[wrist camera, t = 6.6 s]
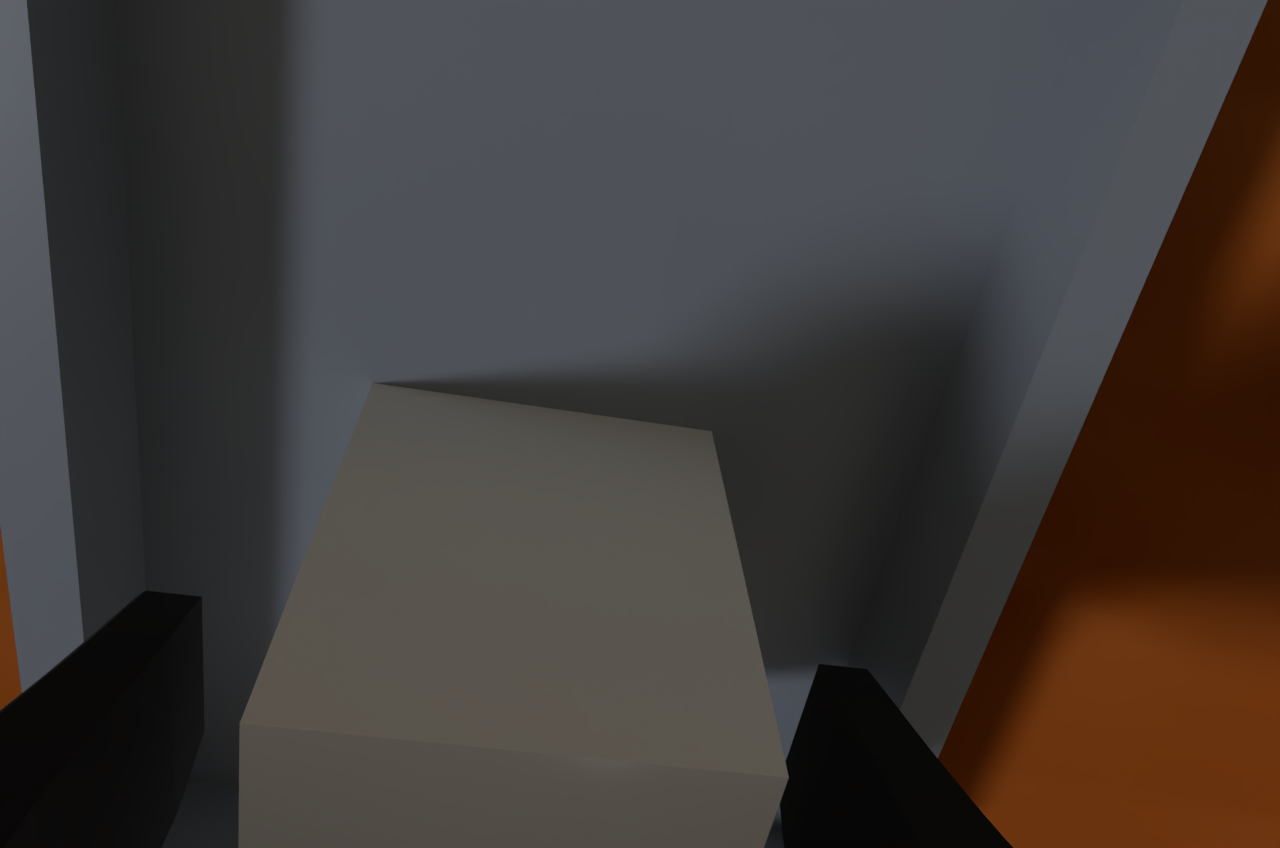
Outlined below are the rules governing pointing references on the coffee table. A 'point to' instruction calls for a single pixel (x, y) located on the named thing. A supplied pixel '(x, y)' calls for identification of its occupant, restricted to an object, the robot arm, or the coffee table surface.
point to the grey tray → (576, 287)
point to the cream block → (514, 644)
